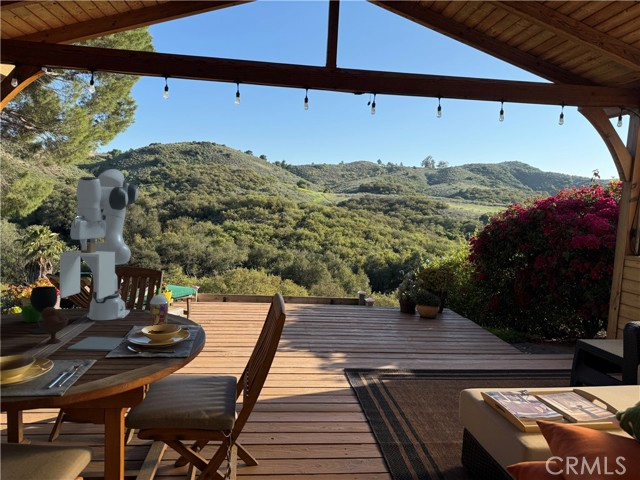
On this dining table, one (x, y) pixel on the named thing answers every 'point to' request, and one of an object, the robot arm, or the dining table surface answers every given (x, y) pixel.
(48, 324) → the ice cream bowl
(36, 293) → the wine glass
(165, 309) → the smoothie
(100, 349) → the mat
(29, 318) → the bell pepper
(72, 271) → the cover
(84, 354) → the dining table surface
